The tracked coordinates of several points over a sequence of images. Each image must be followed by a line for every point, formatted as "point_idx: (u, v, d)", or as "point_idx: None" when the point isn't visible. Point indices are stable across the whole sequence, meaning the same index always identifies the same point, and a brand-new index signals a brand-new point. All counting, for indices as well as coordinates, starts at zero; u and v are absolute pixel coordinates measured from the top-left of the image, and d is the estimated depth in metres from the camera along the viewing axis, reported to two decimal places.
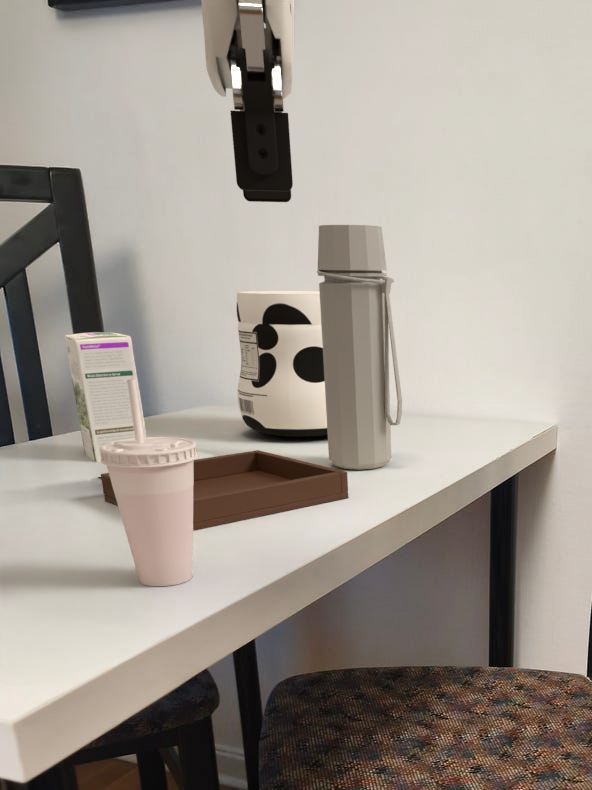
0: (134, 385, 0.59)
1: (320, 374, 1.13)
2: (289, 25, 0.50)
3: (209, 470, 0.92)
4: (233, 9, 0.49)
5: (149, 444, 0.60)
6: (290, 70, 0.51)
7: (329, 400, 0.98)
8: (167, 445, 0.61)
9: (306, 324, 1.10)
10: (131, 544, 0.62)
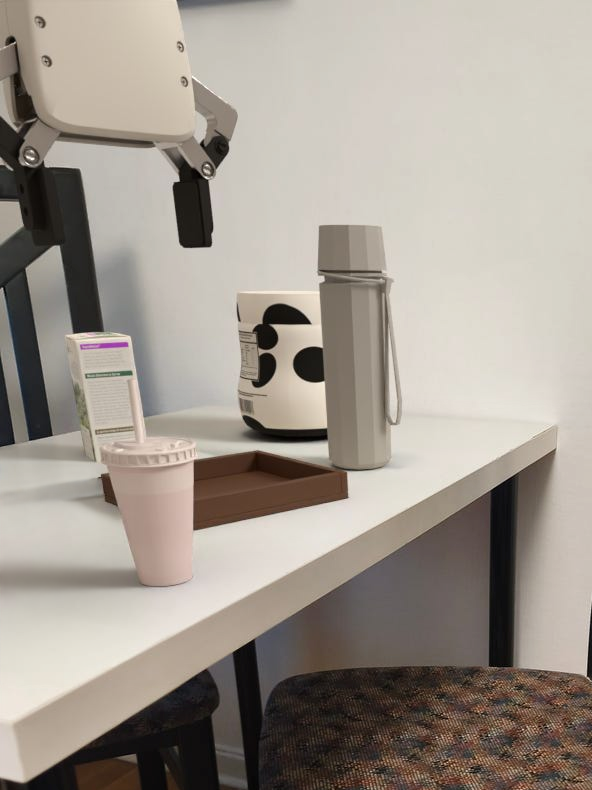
0: (134, 385, 0.59)
1: (320, 374, 1.13)
2: (40, 79, 0.49)
3: (209, 470, 0.92)
4: None
5: (149, 444, 0.60)
6: (61, 122, 0.50)
7: (329, 400, 0.98)
8: (167, 445, 0.61)
9: (306, 324, 1.10)
10: (131, 544, 0.62)
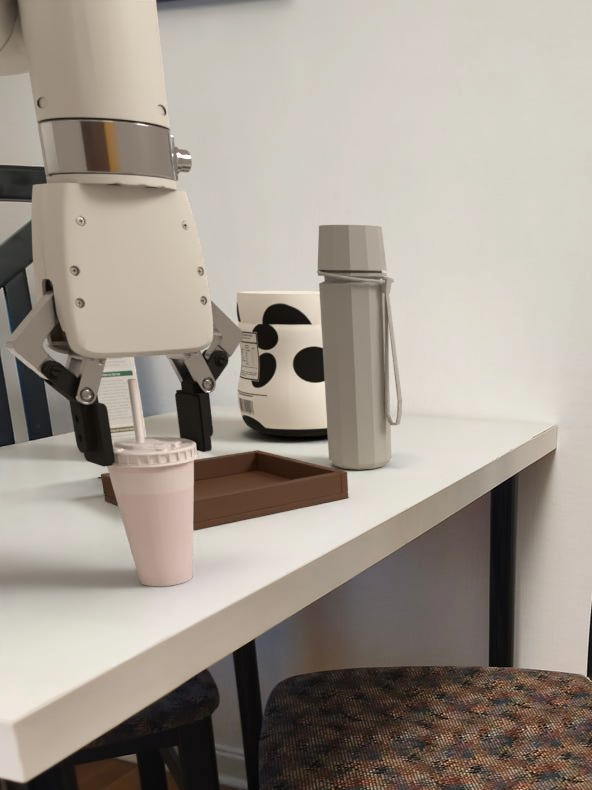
0: (134, 385, 0.60)
1: (320, 374, 1.13)
2: (73, 318, 0.54)
3: (209, 470, 0.92)
4: None
5: (149, 444, 0.60)
6: (92, 352, 0.55)
7: (329, 400, 0.98)
8: (167, 445, 0.61)
9: (306, 324, 1.10)
10: (131, 544, 0.62)
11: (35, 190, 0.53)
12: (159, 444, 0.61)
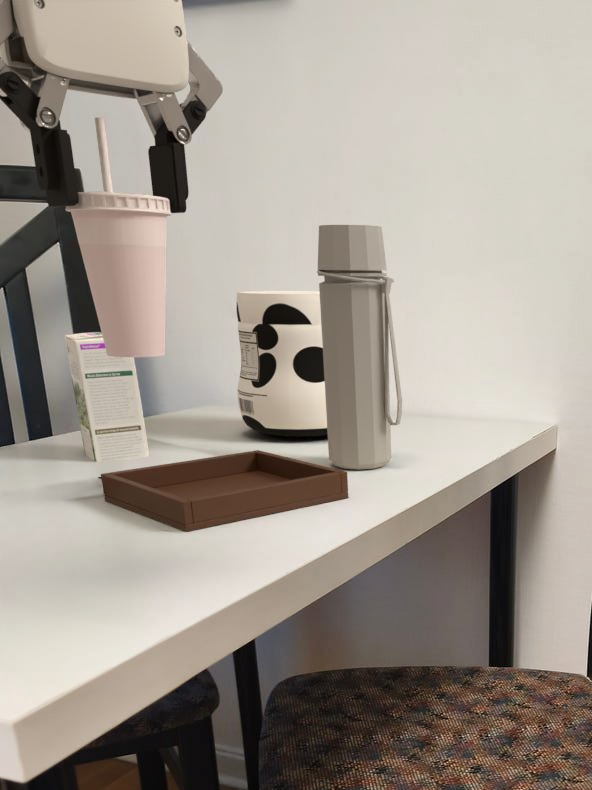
0: (102, 124, 0.55)
1: (320, 374, 1.13)
2: (32, 20, 0.49)
3: (209, 470, 0.92)
4: None
5: None
6: (53, 65, 0.51)
7: (329, 400, 0.98)
8: (137, 195, 0.56)
9: (306, 324, 1.10)
10: (98, 308, 0.58)
11: None
12: (128, 194, 0.56)
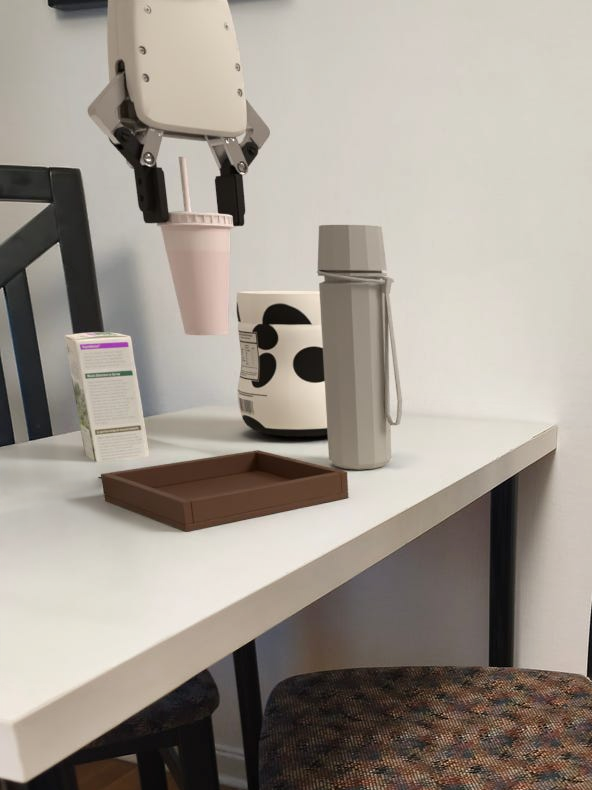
0: (184, 162, 0.74)
1: (320, 374, 1.13)
2: (140, 90, 0.68)
3: (209, 470, 0.92)
4: None
5: (195, 212, 0.75)
6: (153, 121, 0.70)
7: (329, 400, 0.98)
8: None
9: (306, 324, 1.10)
10: (180, 298, 0.77)
11: None
12: (203, 212, 0.75)
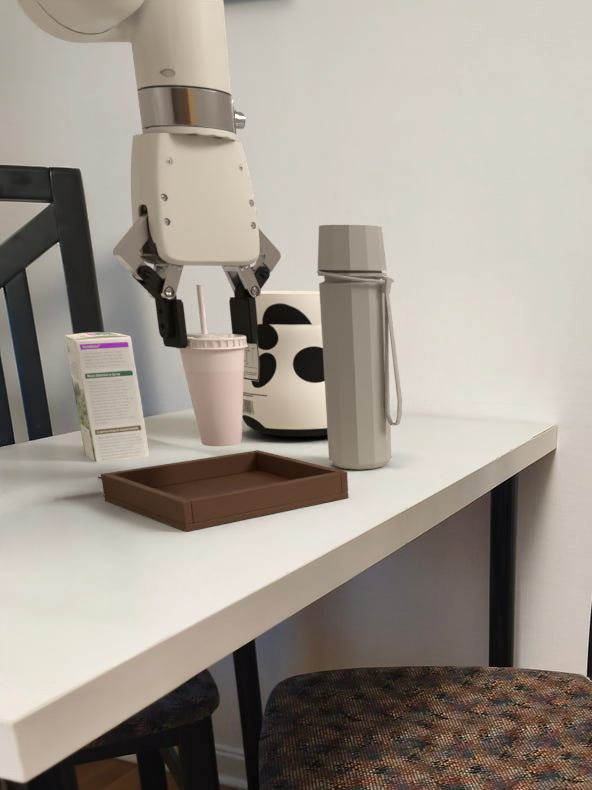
0: (201, 289, 0.80)
1: (320, 374, 1.13)
2: (162, 233, 0.74)
3: (209, 470, 0.92)
4: None
5: (212, 335, 0.80)
6: (174, 259, 0.75)
7: (329, 400, 0.98)
8: (225, 336, 0.81)
9: (306, 324, 1.10)
10: (197, 413, 0.82)
11: (136, 139, 0.73)
12: (219, 335, 0.81)
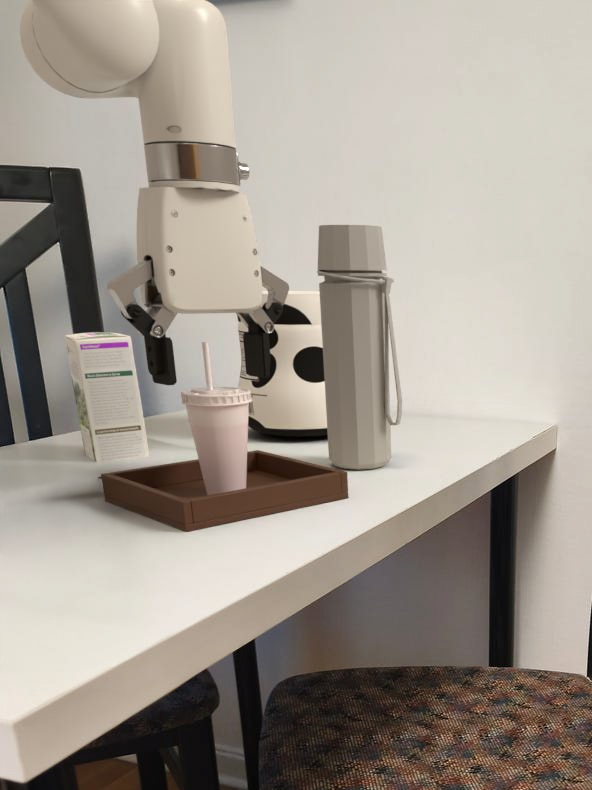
0: (207, 346, 0.81)
1: (320, 374, 1.13)
2: (167, 283, 0.75)
3: None
4: None
5: (217, 390, 0.82)
6: (178, 309, 0.76)
7: (329, 400, 0.98)
8: (230, 391, 0.82)
9: (306, 324, 1.10)
10: (202, 465, 0.84)
11: (142, 192, 0.74)
12: (224, 390, 0.82)
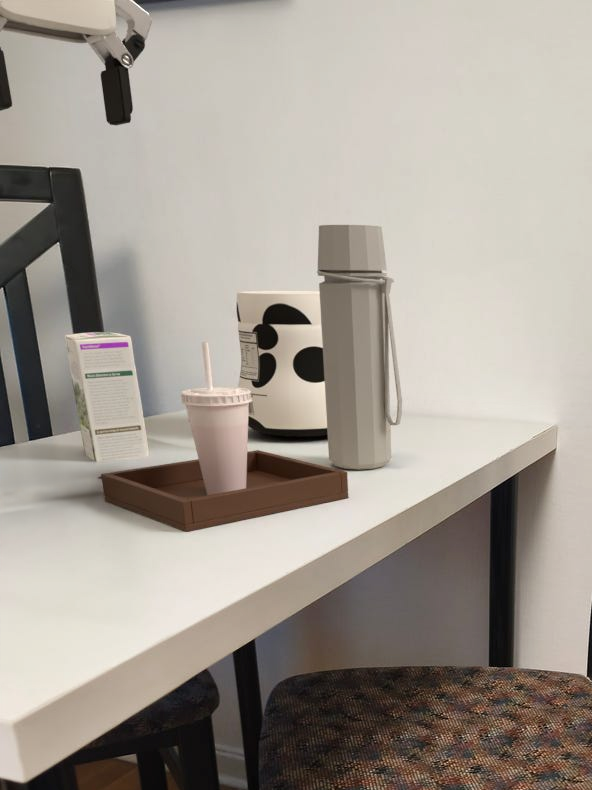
0: (207, 346, 0.81)
1: (320, 374, 1.13)
2: None
3: None
4: None
5: (217, 390, 0.82)
6: (8, 11, 0.67)
7: (329, 400, 0.98)
8: (230, 391, 0.83)
9: (306, 324, 1.10)
10: (202, 465, 0.84)
11: None
12: (224, 390, 0.82)
